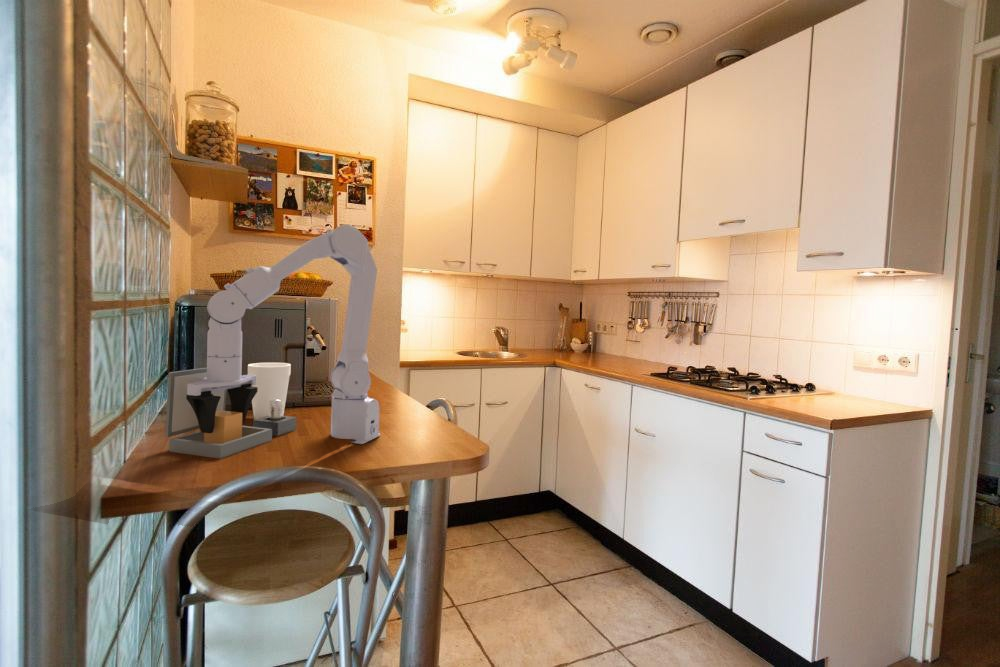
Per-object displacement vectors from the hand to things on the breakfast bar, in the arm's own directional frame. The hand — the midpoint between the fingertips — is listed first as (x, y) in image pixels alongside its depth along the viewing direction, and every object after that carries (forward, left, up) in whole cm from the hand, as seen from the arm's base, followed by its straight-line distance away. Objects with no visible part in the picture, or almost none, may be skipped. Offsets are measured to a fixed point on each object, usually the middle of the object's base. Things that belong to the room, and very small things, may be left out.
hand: (223, 428), depth 94 cm
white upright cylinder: (-2, -13, -4) cm, 13 cm away
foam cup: (+9, -25, -4) cm, 27 cm away
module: (0, 0, -3) cm, 3 cm away
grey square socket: (-2, -13, -4) cm, 13 cm away
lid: (+5, 0, +5) cm, 7 cm away
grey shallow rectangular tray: (0, 0, -4) cm, 4 cm away
